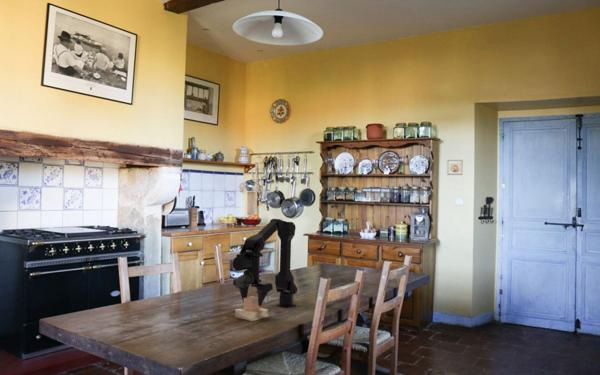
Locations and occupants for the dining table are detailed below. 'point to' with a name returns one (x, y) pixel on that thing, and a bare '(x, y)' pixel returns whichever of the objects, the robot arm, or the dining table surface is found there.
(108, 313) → the dining table surface
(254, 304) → the cube
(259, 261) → the robot arm
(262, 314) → the base
